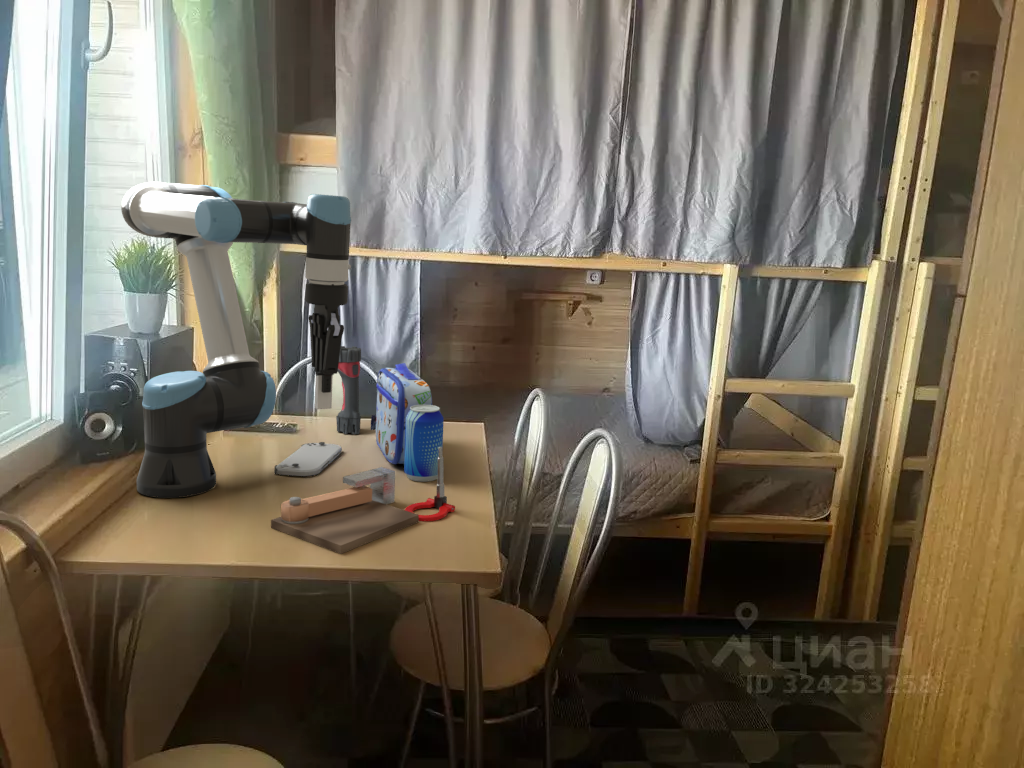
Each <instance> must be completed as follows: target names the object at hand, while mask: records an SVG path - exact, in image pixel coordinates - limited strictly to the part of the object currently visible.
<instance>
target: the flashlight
mask: <svg viewBox="0 0 1024 768" xmlns="http://www.w3.org/2000/svg"><path fill="white" fill-rule="evenodd" d="M361 361H362V349H361V348H360V347H357V346H355V345H354V346H351V347H346V346H345V345H344V346H342V345H341V348H340V356H339V364H338V372H337V374H339V376H340V378H341V387H342V397H343V398H342V399H343V403H342V407H341V411H340V412H338V413H337V415H336V417H335V418H336V431H338V432H337V433H341V432H342V434H343V433H344V434H343V435H348V434H351V435H355V434H357V435H359V434H361V433H360V431H361V417H362V416H361V413H360V411H359V410H360V409H359V406H360V382H359V381H360V379H359V378H360V373H361Z"/></svg>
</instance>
